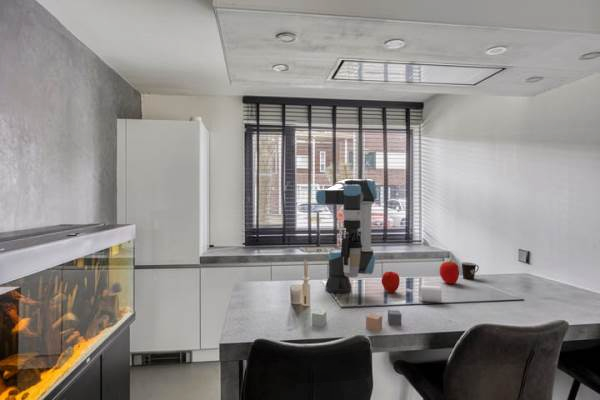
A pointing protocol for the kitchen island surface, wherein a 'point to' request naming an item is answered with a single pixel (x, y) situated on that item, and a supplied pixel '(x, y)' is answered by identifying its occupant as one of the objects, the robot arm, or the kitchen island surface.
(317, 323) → the sage cube
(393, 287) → the red rounded piece
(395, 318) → the charcoal cube
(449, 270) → the red strawberry
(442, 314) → the kitchen island surface
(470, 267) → the coffee mug
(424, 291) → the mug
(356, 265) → the coffee cup
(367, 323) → the terracotta cube
